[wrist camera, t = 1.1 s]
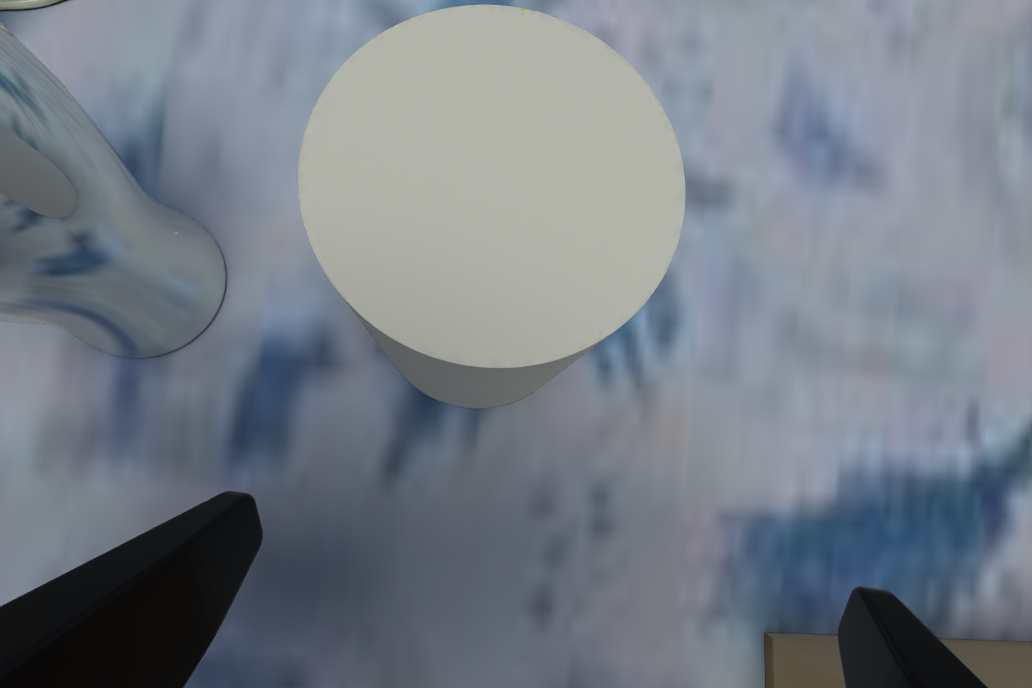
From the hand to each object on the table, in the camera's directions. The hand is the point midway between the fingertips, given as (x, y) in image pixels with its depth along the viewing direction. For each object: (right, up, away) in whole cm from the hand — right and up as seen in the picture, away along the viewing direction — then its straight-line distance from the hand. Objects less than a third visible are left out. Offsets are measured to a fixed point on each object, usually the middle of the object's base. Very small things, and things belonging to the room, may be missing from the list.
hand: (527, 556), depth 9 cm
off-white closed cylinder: (-2, +5, +16) cm, 16 cm away
